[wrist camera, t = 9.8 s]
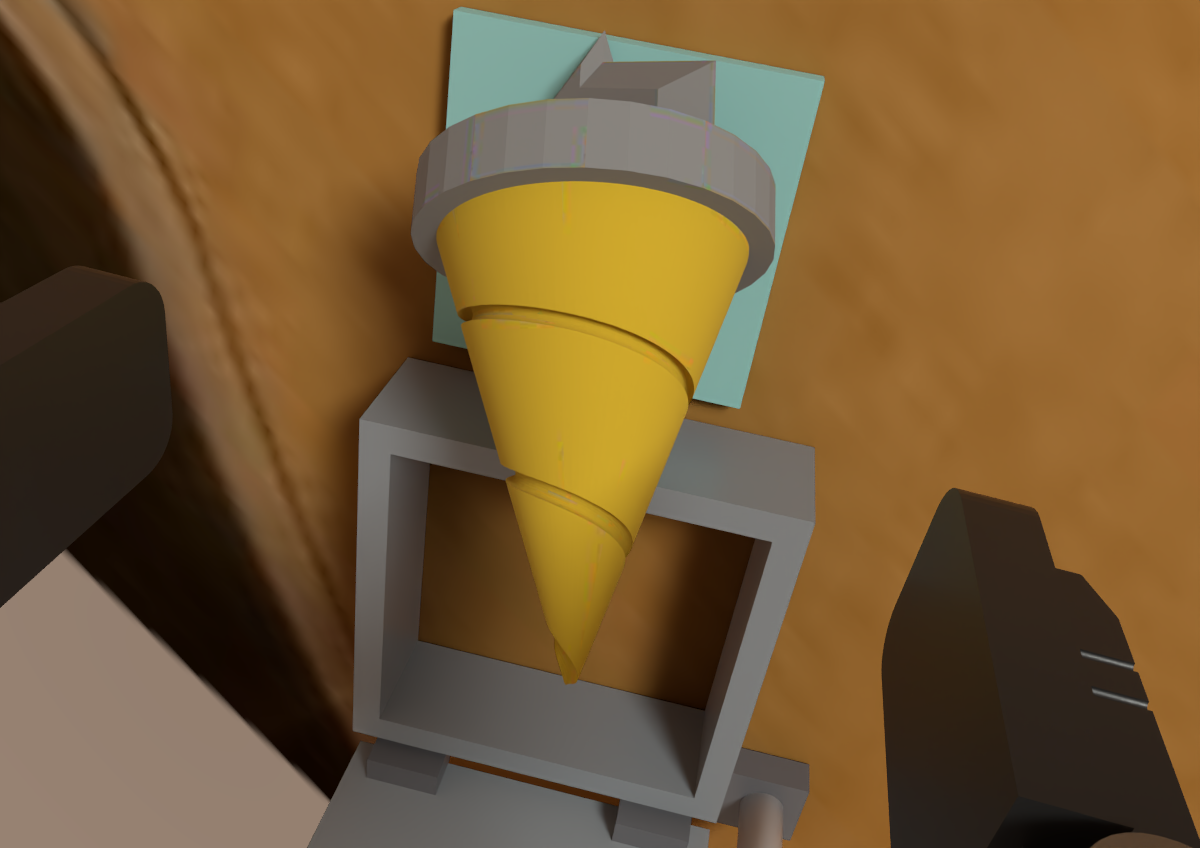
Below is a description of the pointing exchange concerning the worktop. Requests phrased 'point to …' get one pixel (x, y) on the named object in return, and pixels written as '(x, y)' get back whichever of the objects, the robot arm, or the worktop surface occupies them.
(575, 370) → the drill bit
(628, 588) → the worktop surface
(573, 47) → the mat
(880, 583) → the worktop surface
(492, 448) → the case
